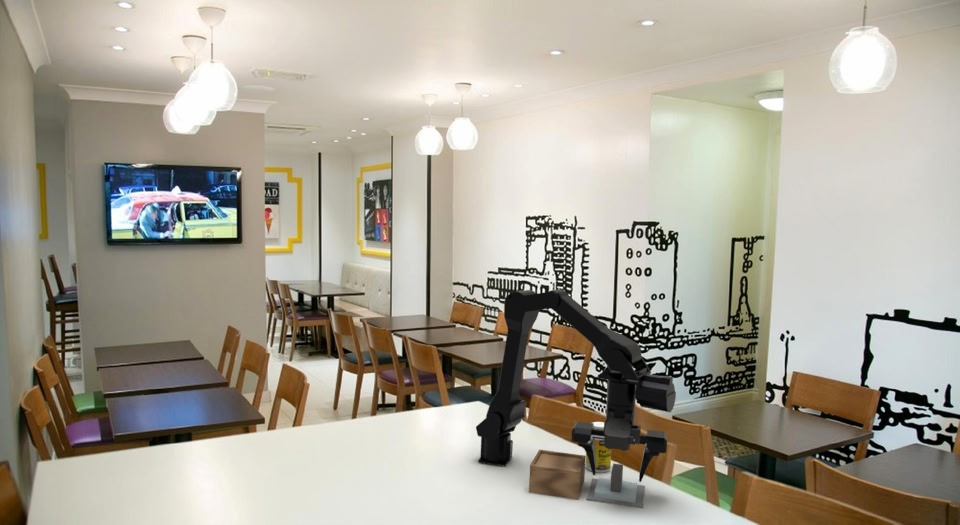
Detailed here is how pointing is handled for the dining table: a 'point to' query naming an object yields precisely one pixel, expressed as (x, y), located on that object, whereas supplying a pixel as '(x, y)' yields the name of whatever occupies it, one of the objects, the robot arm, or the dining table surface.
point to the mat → (638, 502)
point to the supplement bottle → (600, 453)
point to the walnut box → (557, 474)
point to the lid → (616, 486)
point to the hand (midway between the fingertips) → (617, 477)
